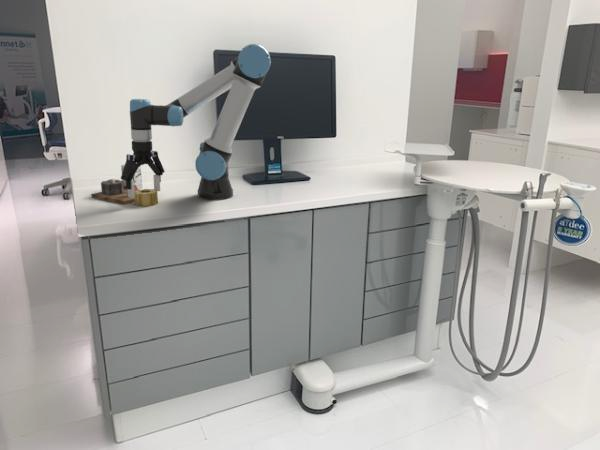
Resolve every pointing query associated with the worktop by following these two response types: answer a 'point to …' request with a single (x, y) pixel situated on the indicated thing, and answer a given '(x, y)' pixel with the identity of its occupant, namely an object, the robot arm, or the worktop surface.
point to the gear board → (115, 197)
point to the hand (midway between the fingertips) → (144, 193)
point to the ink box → (135, 179)
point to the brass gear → (146, 197)
